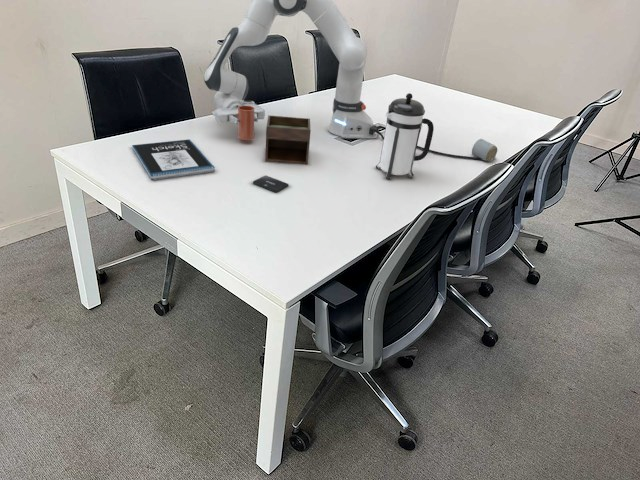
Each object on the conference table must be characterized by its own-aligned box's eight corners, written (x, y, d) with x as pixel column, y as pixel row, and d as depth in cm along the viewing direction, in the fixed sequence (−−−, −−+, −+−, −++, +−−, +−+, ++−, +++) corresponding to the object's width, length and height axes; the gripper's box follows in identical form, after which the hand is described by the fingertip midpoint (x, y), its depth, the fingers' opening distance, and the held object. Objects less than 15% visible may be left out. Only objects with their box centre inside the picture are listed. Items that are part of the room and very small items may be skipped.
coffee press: (407, 186, 167) (425, 103, 150) (367, 173, 173) (381, 92, 157) (424, 171, 179) (442, 93, 163) (387, 160, 186) (401, 84, 170)
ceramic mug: (485, 163, 193) (491, 146, 188) (469, 156, 198) (474, 139, 194) (499, 159, 199) (505, 142, 195) (483, 152, 204) (488, 136, 200)
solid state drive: (276, 192, 152) (276, 190, 152) (252, 183, 157) (252, 181, 156) (288, 185, 158) (288, 183, 157) (265, 176, 162) (265, 175, 161)
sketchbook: (189, 142, 182) (189, 137, 181) (215, 173, 161) (215, 167, 160) (132, 148, 172) (131, 142, 171) (152, 181, 151) (151, 175, 150)
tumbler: (254, 135, 190) (255, 106, 184) (253, 140, 185) (253, 111, 178) (239, 134, 189) (239, 105, 183) (237, 139, 184) (237, 109, 178)
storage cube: (307, 151, 186) (309, 118, 178) (307, 164, 175) (310, 130, 167) (267, 148, 184) (268, 115, 177) (265, 161, 173) (266, 126, 166)
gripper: (209, 104, 186) (221, 114, 176) (256, 100, 195) (270, 110, 186) (210, 119, 189) (222, 130, 179) (256, 115, 199) (270, 126, 189)
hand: (247, 120), depth 183 cm, fingers closed on tumbler, 6 cm apart
